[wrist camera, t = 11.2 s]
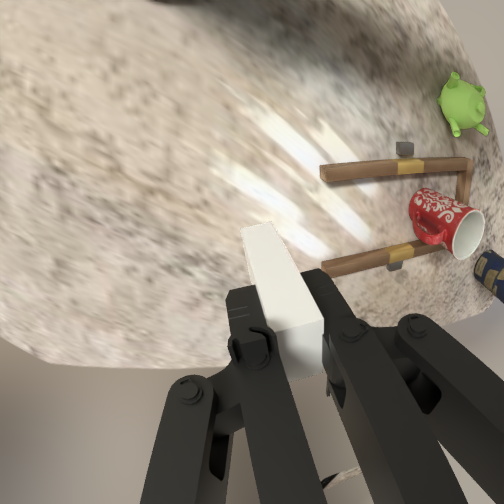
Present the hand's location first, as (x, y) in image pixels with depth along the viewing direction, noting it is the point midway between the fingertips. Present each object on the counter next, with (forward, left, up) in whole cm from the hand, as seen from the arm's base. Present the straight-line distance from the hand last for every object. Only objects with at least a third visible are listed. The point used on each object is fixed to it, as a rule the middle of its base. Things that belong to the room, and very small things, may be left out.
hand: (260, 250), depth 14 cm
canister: (+33, +65, -29) cm, 79 cm away
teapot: (-7, +42, -29) cm, 52 cm away
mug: (+13, +34, -29) cm, 47 cm away
